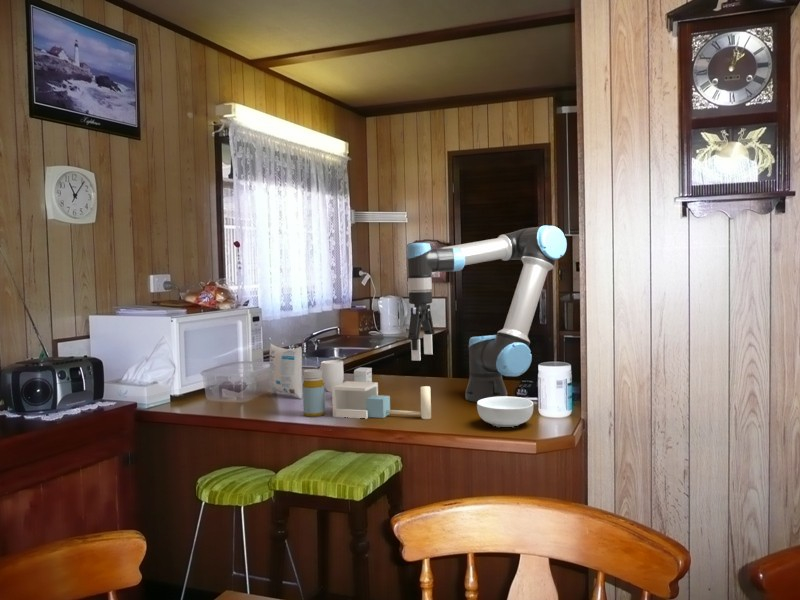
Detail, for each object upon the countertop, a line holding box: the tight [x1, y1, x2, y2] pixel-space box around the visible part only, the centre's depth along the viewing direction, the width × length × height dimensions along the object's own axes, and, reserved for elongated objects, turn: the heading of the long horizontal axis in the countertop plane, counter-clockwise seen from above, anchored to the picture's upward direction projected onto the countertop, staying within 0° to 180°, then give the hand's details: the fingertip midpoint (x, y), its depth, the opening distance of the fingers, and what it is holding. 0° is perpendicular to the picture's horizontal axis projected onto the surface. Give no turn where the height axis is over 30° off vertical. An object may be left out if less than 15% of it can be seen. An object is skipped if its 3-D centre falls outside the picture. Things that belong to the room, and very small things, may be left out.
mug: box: [318, 359, 345, 393], centre depth 255 cm, size 12×9×12 cm
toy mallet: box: [366, 385, 432, 420], centre depth 207 cm, size 21×6×10 cm, turn 70°
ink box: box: [353, 367, 373, 382], centre depth 234 cm, size 9×5×12 cm, turn 168°
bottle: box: [302, 368, 326, 418], centre depth 213 cm, size 7×7×15 cm
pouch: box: [269, 343, 303, 400], centre depth 246 cm, size 8×19×20 cm, turn 44°
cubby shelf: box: [331, 380, 379, 420], centre depth 212 cm, size 12×10×10 cm
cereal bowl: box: [476, 395, 534, 428], centre depth 193 cm, size 17×17×7 cm
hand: (422, 357), depth 205 cm, fingers open, 13 cm apart
